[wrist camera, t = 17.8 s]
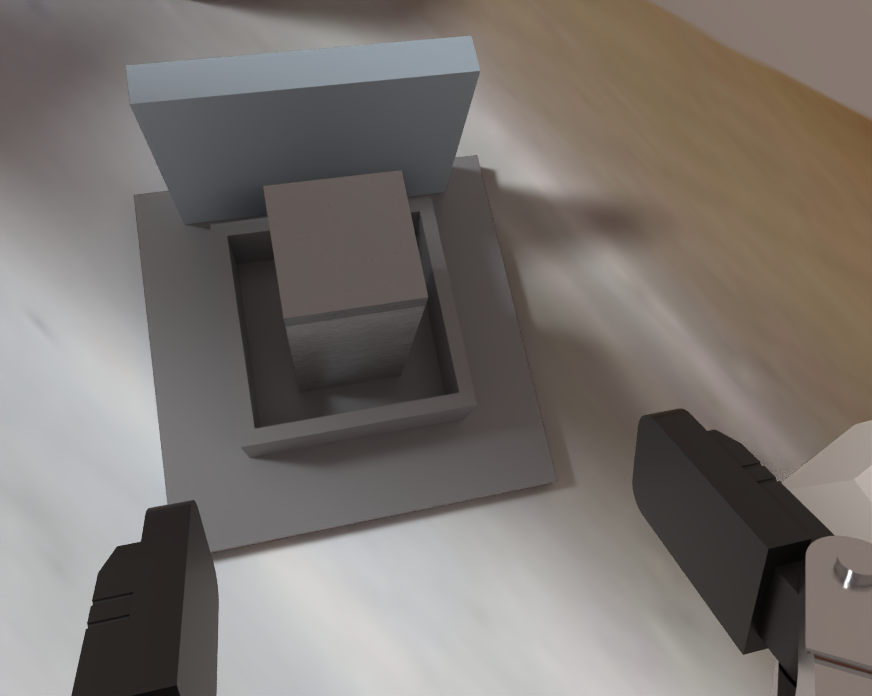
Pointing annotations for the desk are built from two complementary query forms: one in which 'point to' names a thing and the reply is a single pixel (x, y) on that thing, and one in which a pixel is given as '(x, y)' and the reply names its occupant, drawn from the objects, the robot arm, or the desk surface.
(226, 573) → the desk surface
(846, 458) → the white cube
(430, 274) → the dock
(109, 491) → the desk surface
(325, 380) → the tall gray block
